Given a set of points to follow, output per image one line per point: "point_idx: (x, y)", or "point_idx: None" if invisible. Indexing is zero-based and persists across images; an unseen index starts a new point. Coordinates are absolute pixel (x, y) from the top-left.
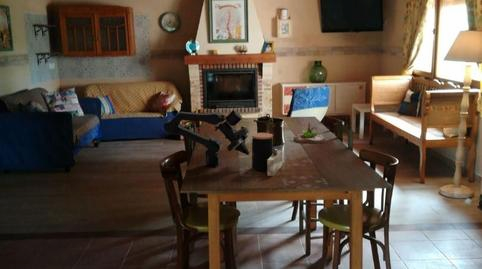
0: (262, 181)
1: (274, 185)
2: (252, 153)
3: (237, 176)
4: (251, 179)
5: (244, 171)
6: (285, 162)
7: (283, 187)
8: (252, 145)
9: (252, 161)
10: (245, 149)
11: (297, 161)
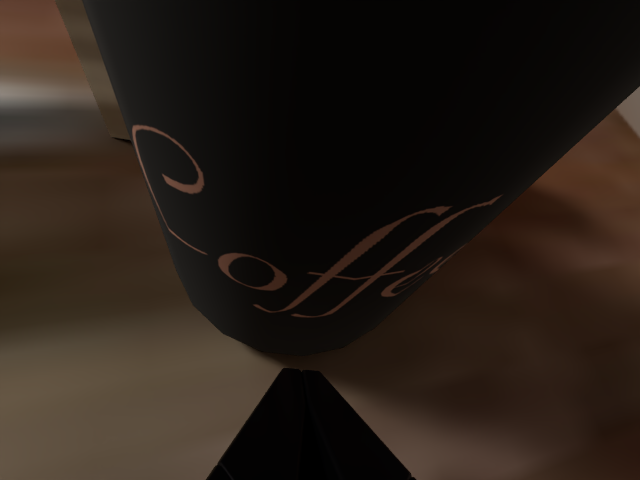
0: (601, 218)
1: (618, 150)
2: (438, 260)
3: (626, 469)
4: (614, 303)
5: (434, 432)
6: (36, 75)
7: (614, 111)
8: (568, 134)
9: (379, 315)
10: (399, 463)
11: (12, 3)
